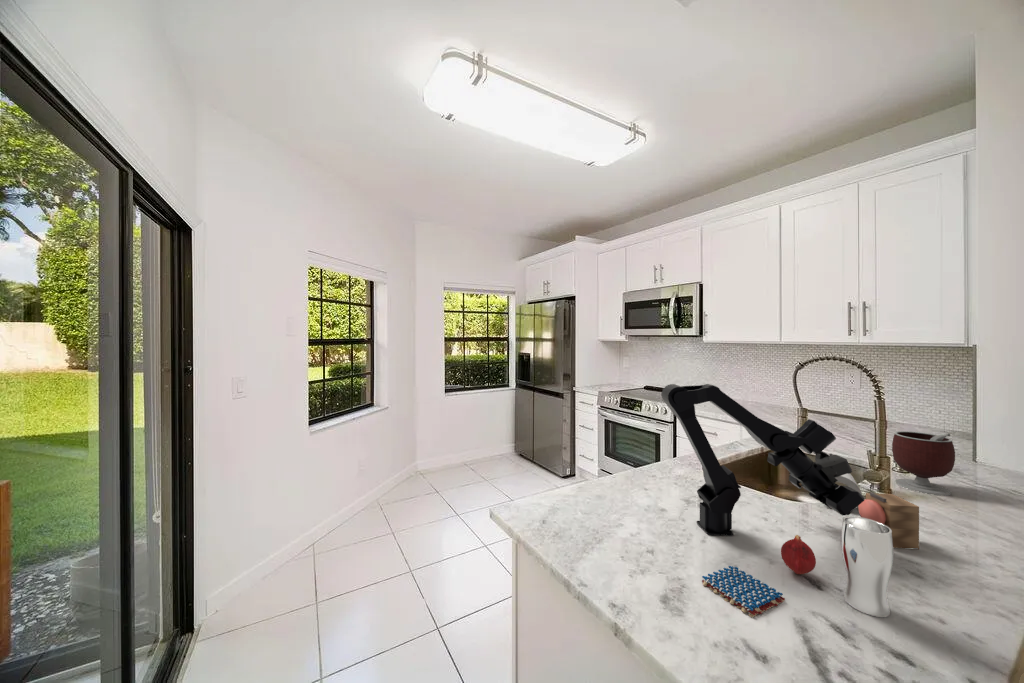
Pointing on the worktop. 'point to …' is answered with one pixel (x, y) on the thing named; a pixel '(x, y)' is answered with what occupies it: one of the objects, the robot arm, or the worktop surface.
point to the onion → (798, 556)
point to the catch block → (899, 519)
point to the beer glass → (867, 564)
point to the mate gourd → (923, 459)
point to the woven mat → (743, 590)
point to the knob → (872, 511)
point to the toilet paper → (849, 482)
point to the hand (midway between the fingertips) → (848, 513)
